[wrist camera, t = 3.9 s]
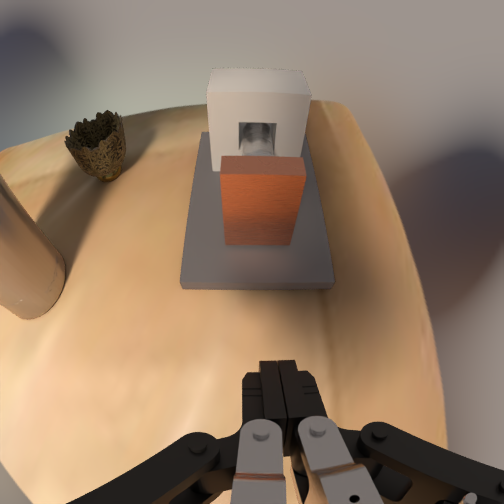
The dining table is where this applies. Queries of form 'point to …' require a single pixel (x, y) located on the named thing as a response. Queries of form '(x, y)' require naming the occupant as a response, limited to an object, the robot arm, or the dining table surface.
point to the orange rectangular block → (260, 191)
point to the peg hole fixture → (209, 188)
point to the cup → (99, 145)
